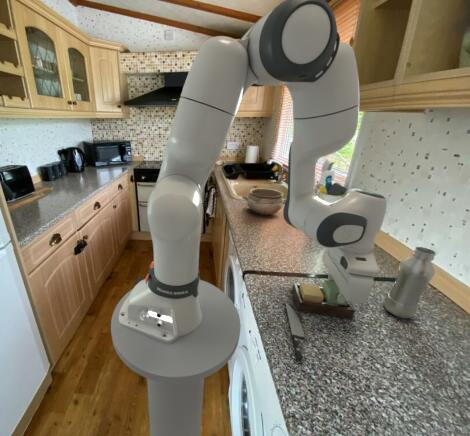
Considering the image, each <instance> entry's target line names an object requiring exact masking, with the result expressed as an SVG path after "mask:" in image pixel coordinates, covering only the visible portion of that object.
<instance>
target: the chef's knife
mask: <svg viewBox="0 0 470 436" xmlns="http://www.w3.org/2000/svg"><path fill="white" fill-rule="evenodd" d="M284 302H285V309H286V314H287V318H288V323H289V327H290V332H291V336H292V340H293V345H294V349H295V355H296V358H297V359H298V361H302V360H303V358H304V356H303V355H302V352H301V350H300V345H299V339H298V338H306V336H305V333H304V330H303V327H302V323H301V320H300V318H299V316H298V314H297V313H296V311H295V310H294V309H293V307H292V306H291V305H290V304H288V303H287V302H286V301H284Z"/></svg>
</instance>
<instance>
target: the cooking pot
mask: <svg viewBox="0 0 470 436" xmlns="http://www.w3.org/2000/svg"><path fill="white" fill-rule="evenodd" d="M283 196H284V192H282V191H281V190H278V189H275V188H271V187H253V188H250V189H249V194H248V196H245V195H242V196H241V198H242V199H243V200H244V201H246V204H247V206H248V208H250V209H251V211H253V212H255V213H256V214H258V215H260V216H269V215H271V214H272V215H273V214H276V213H277V212H279V211H280V210H281V209H282V208H283V207H284V205H285V202H286V199H284V198H283Z"/></svg>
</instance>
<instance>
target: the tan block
mask: <svg viewBox="0 0 470 436" xmlns="http://www.w3.org/2000/svg"><path fill="white" fill-rule="evenodd" d="M299 284H300V287H299V292H300V295H301V298H302V300H303V301H307V302H314V303H320V304H322V302H323V299H324V296H323V294H322V292H321V290H320V288H319V287H320V286H319V285H317V284H308V283H302V282H301V283H299Z"/></svg>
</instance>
